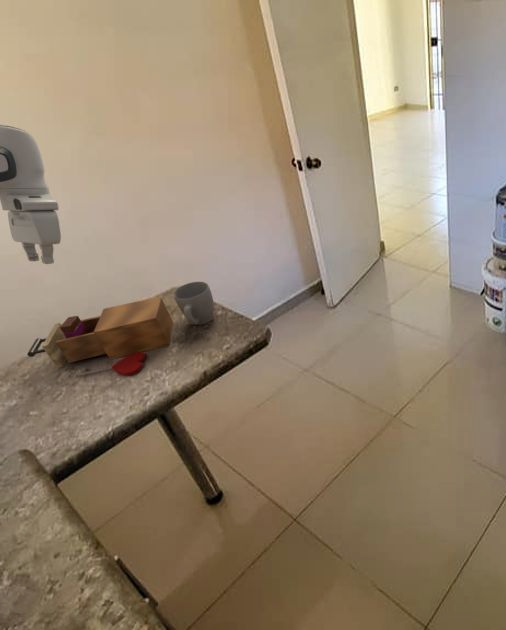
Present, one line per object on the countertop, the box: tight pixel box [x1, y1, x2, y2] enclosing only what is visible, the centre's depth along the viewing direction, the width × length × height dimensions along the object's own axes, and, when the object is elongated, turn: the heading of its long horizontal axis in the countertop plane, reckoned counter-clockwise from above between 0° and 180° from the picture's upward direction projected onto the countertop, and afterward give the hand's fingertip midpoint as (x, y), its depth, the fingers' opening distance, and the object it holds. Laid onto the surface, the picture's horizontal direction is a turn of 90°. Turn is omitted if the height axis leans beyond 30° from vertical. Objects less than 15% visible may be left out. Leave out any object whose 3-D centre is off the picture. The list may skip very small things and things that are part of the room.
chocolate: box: [60, 315, 88, 338], centre depth 108 cm, size 2×5×8 cm, turn 11°
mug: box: [173, 281, 215, 326], centre depth 116 cm, size 12×9×10 cm
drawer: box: [26, 315, 107, 369], centre depth 108 cm, size 17×10×7 cm, turn 111°
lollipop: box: [74, 351, 147, 377], centre depth 104 cm, size 8×1×15 cm
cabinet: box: [94, 296, 174, 360], centre depth 112 cm, size 14×11×9 cm
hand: (41, 262), depth 103 cm, fingers open, 8 cm apart
